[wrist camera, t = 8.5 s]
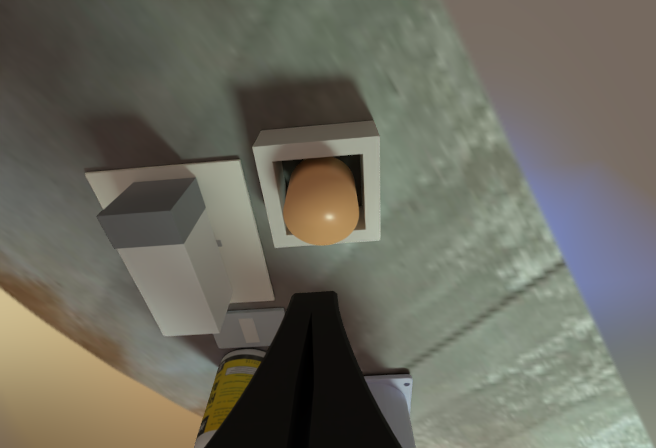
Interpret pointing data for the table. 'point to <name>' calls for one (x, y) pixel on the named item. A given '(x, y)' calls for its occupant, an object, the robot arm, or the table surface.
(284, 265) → the table surface
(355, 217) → the button
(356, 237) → the button box
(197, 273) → the grey rectangular prism
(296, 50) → the table surface
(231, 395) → the supplement bottle
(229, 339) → the card
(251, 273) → the paper sheet
